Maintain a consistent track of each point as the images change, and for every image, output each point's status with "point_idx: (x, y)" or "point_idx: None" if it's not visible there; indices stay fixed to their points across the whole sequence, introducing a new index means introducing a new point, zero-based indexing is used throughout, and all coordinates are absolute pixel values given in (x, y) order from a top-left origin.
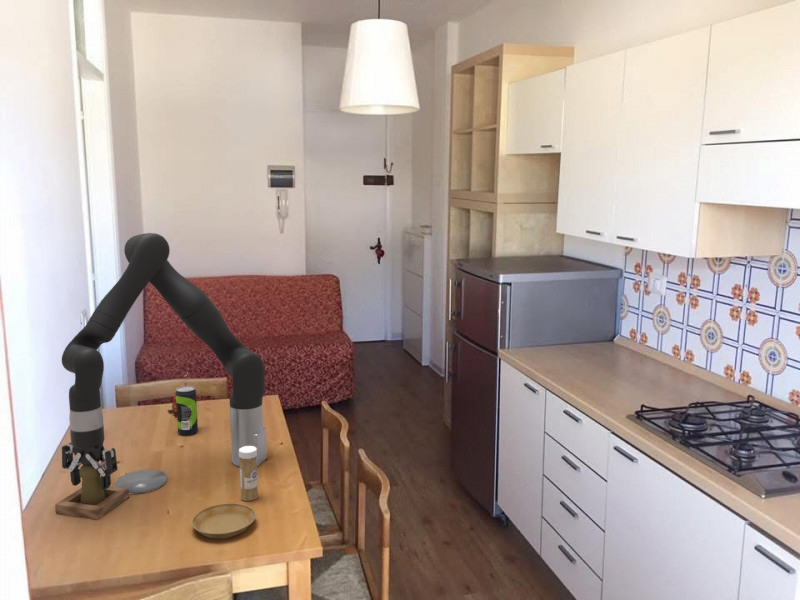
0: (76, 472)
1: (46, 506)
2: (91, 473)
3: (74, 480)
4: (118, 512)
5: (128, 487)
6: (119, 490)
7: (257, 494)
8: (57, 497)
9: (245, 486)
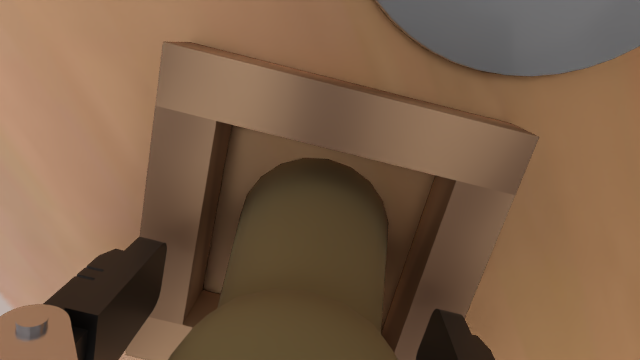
0: (103, 354)
1: (45, 242)
2: None
3: (135, 333)
4: (498, 309)
5: (486, 18)
6: (473, 169)
7: None
8: (27, 129)
9: None
